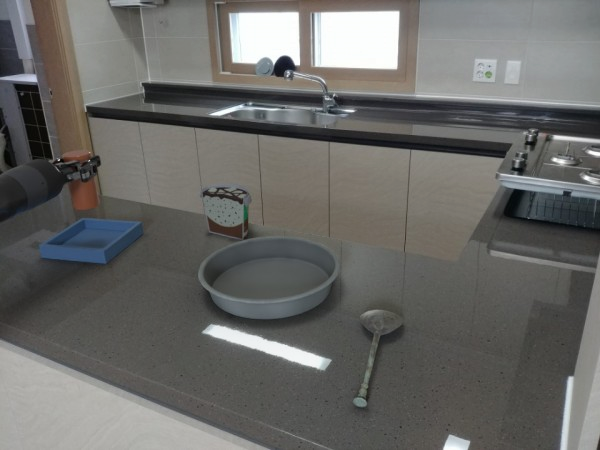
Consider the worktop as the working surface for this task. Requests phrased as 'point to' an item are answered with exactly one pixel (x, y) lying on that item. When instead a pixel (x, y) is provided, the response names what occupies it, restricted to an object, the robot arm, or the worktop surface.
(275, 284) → the cake pan
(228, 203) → the food container
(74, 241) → the tray
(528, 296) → the worktop surface
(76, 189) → the orange cylinder
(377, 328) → the soupspoon
